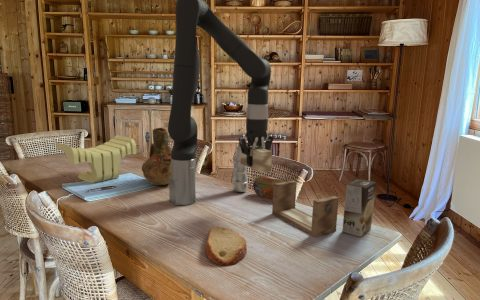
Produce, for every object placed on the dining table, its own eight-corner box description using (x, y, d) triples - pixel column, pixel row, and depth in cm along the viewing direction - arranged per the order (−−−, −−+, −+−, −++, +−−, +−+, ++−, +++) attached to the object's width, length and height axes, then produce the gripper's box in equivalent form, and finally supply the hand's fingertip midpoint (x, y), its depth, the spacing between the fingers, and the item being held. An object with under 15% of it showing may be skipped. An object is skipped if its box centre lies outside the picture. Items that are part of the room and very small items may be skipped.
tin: (252, 194, 152) (253, 175, 150) (256, 192, 154) (257, 173, 153) (284, 202, 143) (285, 181, 142) (288, 200, 146) (289, 179, 144)
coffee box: (361, 237, 113) (366, 188, 110) (341, 231, 117) (345, 183, 114) (371, 228, 120) (376, 181, 117) (353, 223, 124) (357, 177, 121)
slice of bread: (218, 229, 117) (219, 218, 116) (265, 246, 106) (266, 234, 106) (177, 249, 103) (177, 237, 102) (226, 271, 92) (227, 257, 92)
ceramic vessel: (153, 195, 147) (151, 134, 142) (135, 179, 169) (133, 125, 164) (192, 189, 156) (192, 131, 151) (170, 175, 177) (169, 124, 172)
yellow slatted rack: (76, 188, 153) (73, 147, 150) (58, 181, 163) (55, 142, 160) (137, 175, 176) (135, 138, 172) (118, 169, 186) (117, 134, 182)
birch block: (261, 172, 123) (262, 151, 122) (240, 163, 135) (241, 144, 133) (271, 171, 125) (272, 150, 124) (249, 162, 137) (250, 143, 135)
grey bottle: (246, 194, 151) (247, 147, 147) (230, 193, 153) (231, 146, 149) (249, 190, 157) (250, 144, 153) (233, 188, 159) (234, 143, 155)
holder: (316, 237, 112) (319, 203, 110) (271, 213, 131) (272, 183, 129) (337, 231, 117) (340, 198, 115) (290, 208, 136) (291, 180, 134)
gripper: (246, 119, 119) (244, 169, 123) (279, 117, 127) (277, 165, 130) (233, 116, 126) (232, 165, 129) (267, 115, 133) (265, 160, 137)
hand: (255, 164), depth 130 cm, fingers closed on birch block, 4 cm apart
